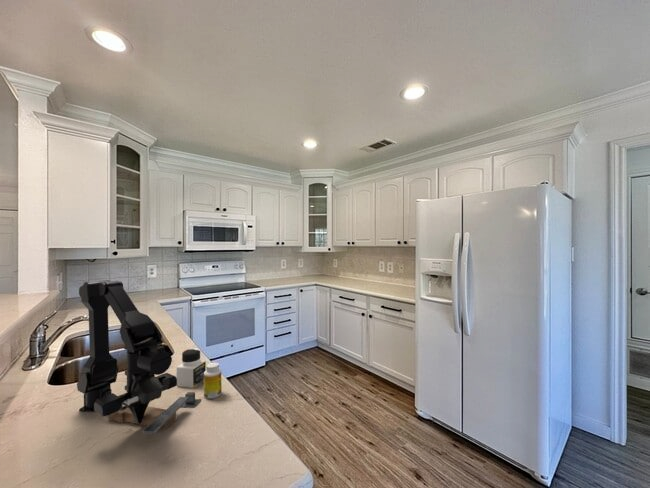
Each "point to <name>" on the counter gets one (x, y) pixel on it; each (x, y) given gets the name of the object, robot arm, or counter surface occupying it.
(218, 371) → the supplement bottle
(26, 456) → the counter surface
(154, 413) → the tan wooden bar
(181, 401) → the grey flat bar piece
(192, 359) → the medicine bottle
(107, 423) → the counter surface
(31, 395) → the counter surface
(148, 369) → the robot arm
